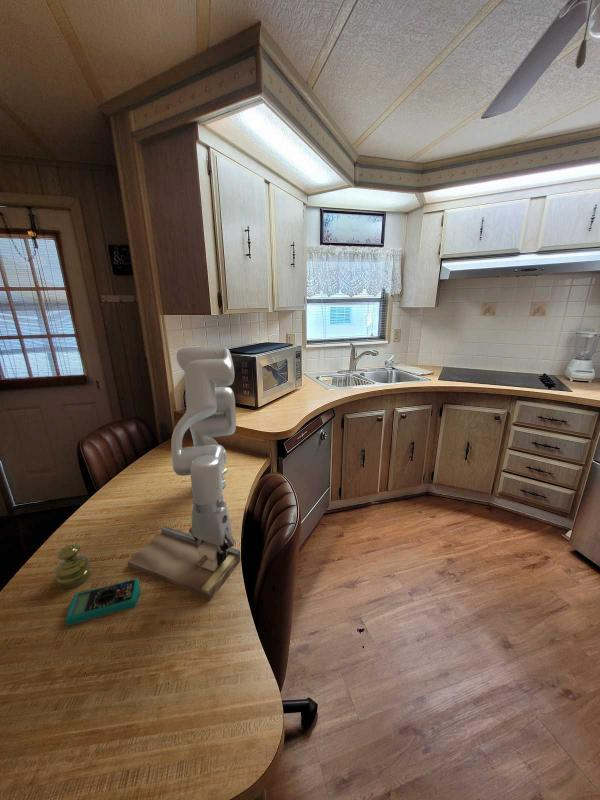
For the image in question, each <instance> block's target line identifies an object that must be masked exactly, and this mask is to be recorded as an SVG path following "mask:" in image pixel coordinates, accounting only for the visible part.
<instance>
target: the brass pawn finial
mask: <svg viewBox="0 0 600 800" xmlns="http://www.w3.org/2000/svg"><path fill="white" fill-rule="evenodd" d="M81 548H82V547H81V545H80V544H77V543H72V544H69V545H66V546H64V547H63V548H61V549H60V550H58V552H57V553H56V557H57V559H58V560H62V561H61V562H60V563H58V565H57V566H56V568H55V570H54V575H55V577H56V579H55V580H56V582H57V587H59V588H60V589H63V590H70V589H74V588H76V587H79V586H80V585H83V584H84V582H86V581H87V580H88V579H89V578H90V576H91V575H92V568H91V567H92V566H91V564H90V558H89V556H87V555H85V554H79V553H80V551H81Z"/></svg>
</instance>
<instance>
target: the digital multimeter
mask: <svg viewBox="0 0 600 800" xmlns="http://www.w3.org/2000/svg"><path fill="white" fill-rule="evenodd" d="M140 596H141V586H140V580H139V578H134V579H130V580H126V581H122V582H120V583H116V584H115V583H114V584H111V585H108V586H103V587H99V588H95V589H91V590H86V591H81V592H77V593H76V594H74V595H73V598H72V600H71V602H70V604H69V606H68V609H67V612H66V616H65V623H66V626H67V627H69V626H73V625H75V624H80V623H83V622H86V621H89V620H93V619H95V618H101V617H102V616H107V615H110V614H115V613H118V612H121V611H126V610H130V609H134V608H136V606H137V605H138V601H139V599H140Z"/></svg>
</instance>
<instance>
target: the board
mask: <svg viewBox="0 0 600 800" xmlns="http://www.w3.org/2000/svg"><path fill="white" fill-rule="evenodd" d="M198 547H199V546H197V541H196V540H195V539H194V537H193V536H192V535H191V534H190V533H189V532H188V533H187V532H185V531H182V530H179V529H175V528H173V527H169V526H167V525H164V526H163V527H162V528H161V533H159V534H158V535H157V536H155V538H153V539H152V540H151V541H150V542H149V543H148V544H147V545H145V546H144V547H142V548H141V549H140V550H139V551H138V552H137V553H135V554H134V555H133V556H132V557H130V559H128V560H127V562H126V563H127V568H129V569H132V570H133V571H136V572H139V573H142V574H144V575H146V576H149V577H151V578H153V579H156V580H158V581H161V582H164V583H166V584H168V585H171V586H173V587H175V588H178V589H180V590H183V591H185V592H188V593H190V594H193V595H195V596H198V597H200V598H202V599H205V600H207V601H211V600H212V599H213V598H214V597H215V595H216V594H217V592H218V591H219V590H220V588H221V587H222V586H223V584H224V583H225V582H226V581H227V579H228V578H229V577H230V575H231V574H232V573H233V571H234V570H235V568H236V567H237V566H238V565H239V563H240V562H241V558H242V557H241V550H240V549H237V548H234V547H230V548H228V549H227V557H226V560H225V561H223V563H222V564H221V565H220V566H219V567H218V568H217V569H216V570H215V572H214V571H212V570H209V569H206V568H203V567H201V571H199V568H198V567H197V566H196V564H197V562H198V561H199V558H198Z"/></svg>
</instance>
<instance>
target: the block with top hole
mask: <svg viewBox="0 0 600 800" xmlns="http://www.w3.org/2000/svg"><path fill="white" fill-rule="evenodd" d="M221 546H223V545H221ZM217 553H218V549H217V547H216V544H213V543H209V542H206V541H204V542H203V543H202V544H201V545H200V546H199V547H198V558H199V561H198V562H197V564H196V566H197V567H198V568H199V571H201V567H203V568H206V569H209V570H212V571H214V572H215V570H216V569H217V568H218V567H219V565H218V562H217ZM226 557H227V550H226Z"/></svg>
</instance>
